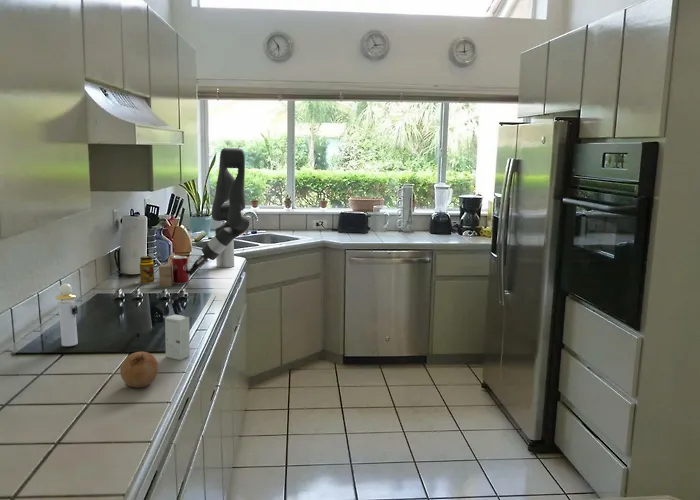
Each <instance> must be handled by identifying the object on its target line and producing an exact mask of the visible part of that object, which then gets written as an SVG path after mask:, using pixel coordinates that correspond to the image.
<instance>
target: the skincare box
mask: <svg viewBox="0 0 700 500" xmlns="http://www.w3.org/2000/svg"><path fill="white" fill-rule="evenodd" d="M164 326H165V327H164V330H165V331H164V333H165V334H164V335H165V339H164V340H165V357H166V358H170V359H174V360H178V361H180V360H184V359H186V358H188V357H190V355H191V353H190V351H191V350H190V347H191V346H190V341H191V339H190V333H191V332H190V317H189V316H185V315H180V314H179V315H178V314H172V315H169V316H166V317H164Z"/></svg>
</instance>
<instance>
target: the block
mask: <svg viewBox="0 0 700 500" xmlns="http://www.w3.org/2000/svg"><path fill="white" fill-rule="evenodd" d="M158 272H159V273H158V275H159V277H158V278H159V287H160V288H166V287H168V288H169V287H172V286H173V284H174V283H173V280H172V265H168V264H161V265H160V264H159V267H158Z"/></svg>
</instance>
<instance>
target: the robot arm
mask: <svg viewBox="0 0 700 500" xmlns="http://www.w3.org/2000/svg"><path fill="white" fill-rule="evenodd" d="M219 155H220V156H219V165H218V166H219V167H218V175H217V180H216V186H215V194H214V199H213V204H212V207H211V218H212V220H214V221H216V222H225V223H224V224H223V225H220V226H218V227H216V228H215V231H214V233H215V235H214V236H213V237H212V238H210V239H209V240H208V242H206V244H205V245H204V246H203V247H202V248H201V252H202V253H203V254H201V255H199V256H198V258H197V259H196V260H195V262H193V264H192V266H191V268H190V269H189V271H188V274H189V276H192V275H193V274H194V273H195V272H197V270H199V269H200V268H201V267H203V266H204V265H205V264H206V263H209V261H210V260H211V261H215V262H216V267H217V268H231V267H235V249H234V248H235V244H234V241H235V240H234V239H236V238H238V237H240V236H241V235H243V234H244V233H246V231H247V230H248V229H249V227H250V222H251V221H250V220H249V218H248V217H247V216H245V215H243V214H242V211H243V210H245V209H246V200H245V198H246V197H245V178H246V177H245V175H246V154H245V152H244V149H242V148H239V147H238V148H234V147H233V148H231V147H225V148H222V149H221V151H220V154H219ZM228 169H237V175H236V176H233V175H232V173H231V172H230V170H228Z"/></svg>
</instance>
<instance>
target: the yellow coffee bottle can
mask: <svg viewBox="0 0 700 500" xmlns="http://www.w3.org/2000/svg"><path fill="white" fill-rule="evenodd" d="M139 273H140V280H138V281H136V282H135V284H143V285H144V284H145V285H152V284H153V283H156V282H157V281H158V280H157V279H156V280H155V265H154V262H153V256H151V255H146V256H145V255H143V256H141V257H140V263H139ZM158 282H159V281H158Z"/></svg>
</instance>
